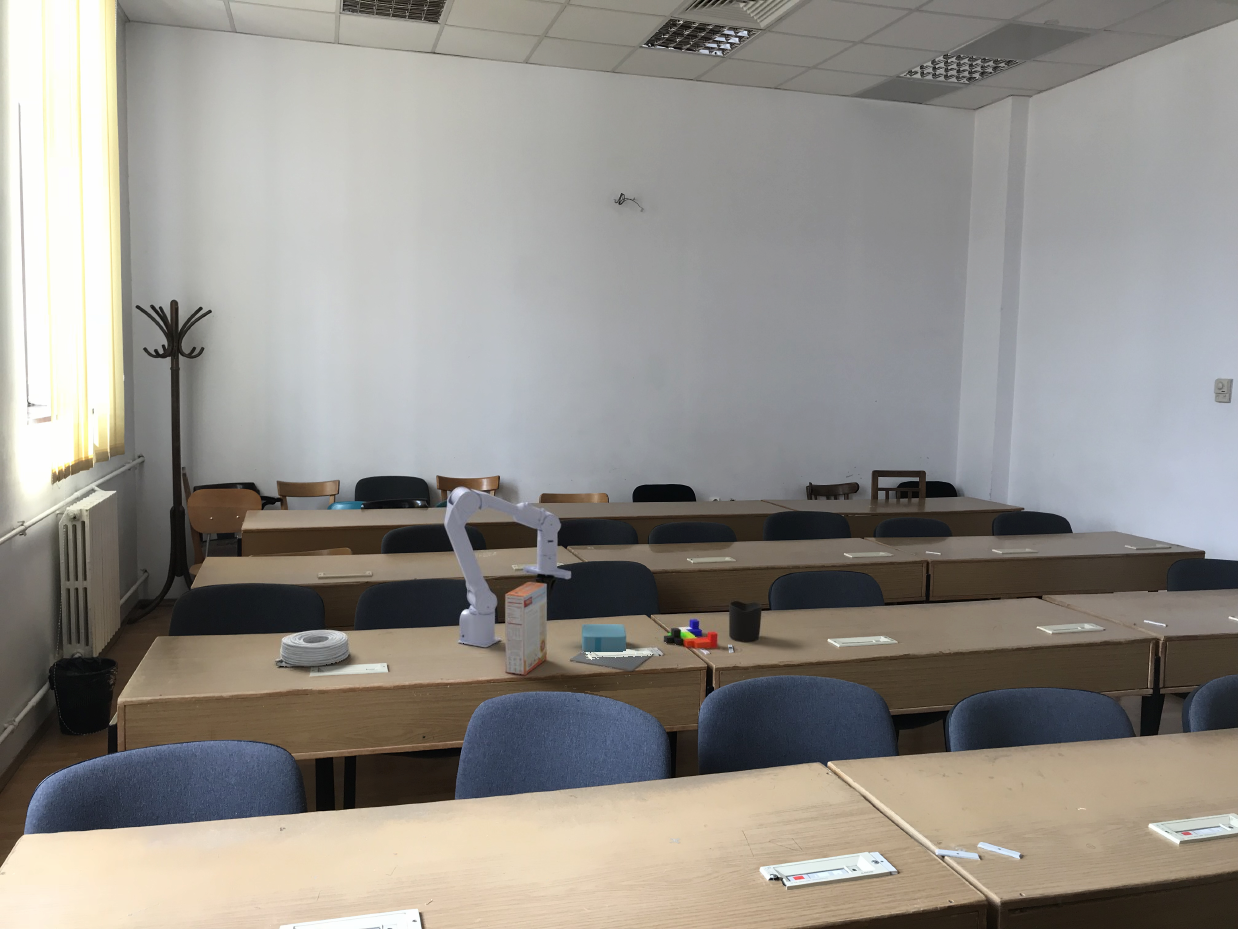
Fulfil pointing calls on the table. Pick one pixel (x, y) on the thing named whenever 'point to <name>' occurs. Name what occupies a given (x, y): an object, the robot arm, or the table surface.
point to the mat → (612, 661)
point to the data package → (603, 638)
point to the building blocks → (691, 636)
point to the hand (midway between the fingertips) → (546, 600)
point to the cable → (313, 648)
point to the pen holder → (744, 621)
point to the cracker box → (526, 627)
